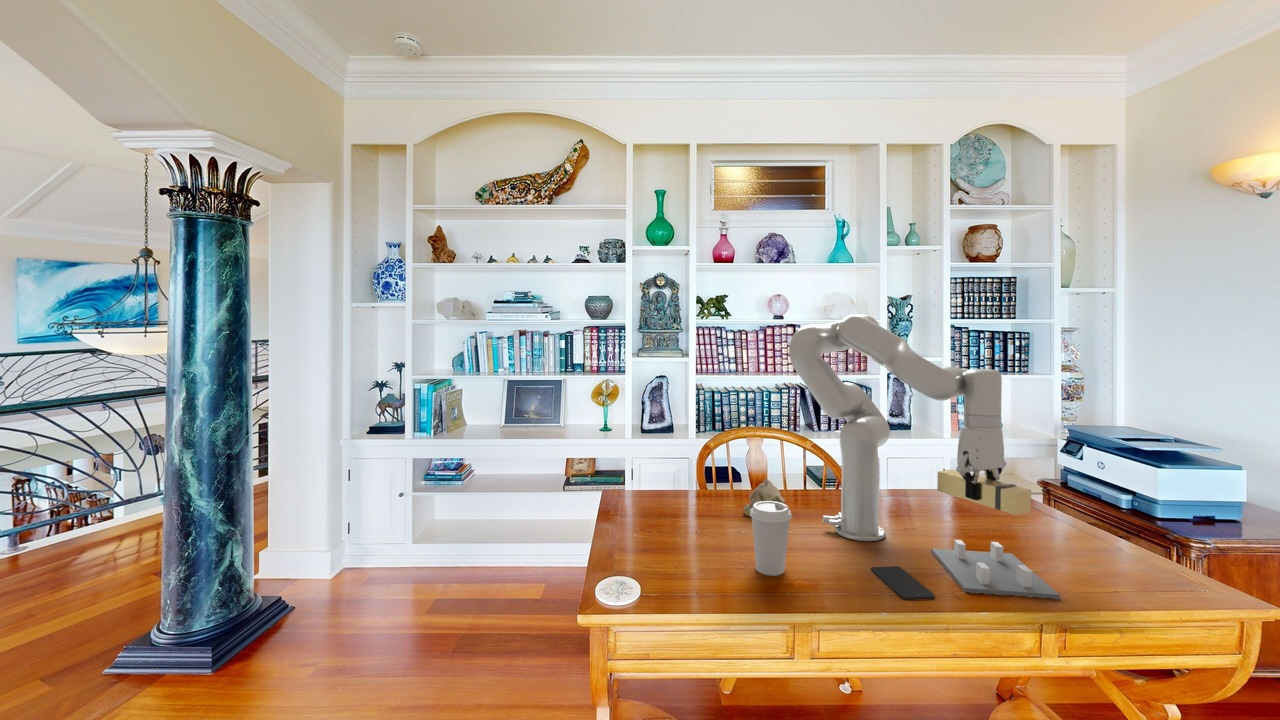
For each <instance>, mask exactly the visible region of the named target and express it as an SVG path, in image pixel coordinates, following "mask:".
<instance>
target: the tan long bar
mask: <svg viewBox="0 0 1280 720" xmlns="http://www.w3.org/2000/svg"><path fill="white" fill-rule="evenodd" d="M970 474H971V475H972V476H973V473H970ZM977 483H978V484H979V500H973V499H970V498H967V497H966V496H965V484H966V481H964V480H963V477H962V476H961V474H960V473H959V472H958V471H957V470H956V469H954V468H952V469H946V470H940V471H939V470H938V471H937V492H939V493H943V494H946V495H949V496H953V497H956V498H959V499H963V500H966V501H969V502H972V503H976V504H979V505H983V506H985V507H989V508H990V509H991V508H992V509H994V510H998V511H1002V512H1003V513H1004V512H1005V513H1008V514H1011V515H1014V516H1017V515H1021V514H1028V513H1031V512H1032V509H1031V508H1032V489H1030V488H1025V487H1023V486H1018V485H1016V484H1013V483H1007V482H1002V481H999V480H998V481H997V480H996V481H995V480H991V479H988V478H986V477H983V476H981V475H980V476H978V481H977Z"/></svg>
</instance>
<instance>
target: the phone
mask: <svg viewBox="0 0 1280 720" xmlns="http://www.w3.org/2000/svg"><path fill="white" fill-rule="evenodd" d="M870 572H872V573H873V574H874V575H875V576H876V577H877V578H878V579H879V580H880V581H881V582H883V583H884V585H886V586H887V587H888V588H889V589H890V590H891V591H892V592H893V591H894V592H893V593H895V595H896V596H897V597H899V599H901V600H903V601H917V600H918V599H926V600H934V599H935V597H936V596H935V595H936V594H934V592H932V591H931V590H930V589H928V588H927V587H926V586H924V585H923V584H922V583H921V582H920V581H918V579H916V578H915V577H913V576H912V575H911V574H910V573H909V572H907V571H906V570H905V569H903V568H902V567H900V566H894V565H892V566H889V565H888V566H872V567H871V568H870Z"/></svg>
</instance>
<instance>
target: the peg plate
mask: <svg viewBox="0 0 1280 720" xmlns="http://www.w3.org/2000/svg"><path fill="white" fill-rule="evenodd" d="M966 547H967V544H966V543H964V541H963V540H961V539H953V549H947V548H946V549H945V548H931V554H932V555H933V556H934V557H935V559H936V560H937V561H938V562H939V563H940V564H941V565H942V567H943V568H944V570H945V571H947V573H948V574H949V575H950V577H951V578H952V579H953V580H954V581H955V582H957V583H956V584H957V585H958V586H959V587H960V588H962V589H963V590H962V589H961V590H962V591H963V592H964V593H965V592H970V593H969V594H979V593H984V594H983V595H992V594H994V595H993V596H1006V595H1015V596H1014V597H1019V596H1027V597H1026V598H1033V597H1040V598H1039V599H1046V598H1052V599H1051V600H1059V599H1060V600H1061V594H1060V593H1059V592H1057V590H1055V589H1054V588H1052V586H1050V585H1049V584H1048V583H1047V582H1045V581H1044V579H1042V578H1041V577H1040V576H1038V574H1036V573H1035V572H1034V571H1033V570H1032V569H1031V568H1029V567H1028V566H1027V565H1026V564H1025V563H1023V562H1022V561H1021V560H1020V559H1019V558H1017V556H1016V555H1014V554H1013V553H1011V552H1004V546H1003V545H1002V544H1000V543H999V541H990V550H989V551H979V550H978V551H976V550H966ZM1029 596H1030V597H1029Z"/></svg>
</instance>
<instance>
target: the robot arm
mask: <svg viewBox="0 0 1280 720" xmlns="http://www.w3.org/2000/svg"><path fill="white" fill-rule="evenodd" d="M850 349H853V350H855V351H857V352H859V353H860V354H862V355H864V356H866V358H868V359H870V360H872V361H874V362H875V363H876V364H879V366H882V367H884V368H885V369H886V370H887V371H888V372H889V373H890V374H892V375H894V376H895V377H896V378H897V379H898V380H900V381H901V382H902V383H904V384H905V385H907V386H909V387H910V388H912V389H913V390H915V391H917V392H919V393H921V394H922V395H924V396H925V397H927V398H930V399H932V400H936V401H947V400H950V399H952V398H953V399H954V398H956V397H963V426H961V428H960V432H959V438H958V444H957V459H956V462H957V463H956V464H957V466H956V468H955V470H957V471H958V472H959V473H960V474H961V476H962V477H963V480H964V481H966V484H965V496H966V497H967V498H970V499H973V500H979V484H978V483H977V481H978V476H979V475H980V472H981V471H983V472H984V475H985V478H988V479H991V480H995V481H999V480H1000V475H1001V474H1002V472H1003V469H1005V467H1006V466H1007V462H1006V460H1005V448H1004V447H1005V446H1004V435H1003V428H1002V389H1003V388H1002V387H1003V386H1002V384H1003V382H1002V381H1003V380H1002V379H1003V378H1002V374H1001V372H1000V371H999V370H997V369H991V368H971V369H968V368H960V367H954V366H953V367H952V366H945V367H940V366H938V365H936V364H935V363H933V362H931V361H929V360H927V359H926V358H924V357H922V356H921V355H919V354H918V353H917V352H915V351H914V350H913V349H912V348H911V346H909V343H908V341H906V340H905V339H904V338H903V337H901V336H899V335H897V334H896V333H893V332H891V331H889V330H888V329H886V328H884V327H883V326H880V325H879V322H878V321H877V320H876V319H875V318H874V317H872V316H870V315H868V314H849V315H847V316H845V317H844V318H843V319H841V320H840V321H835V322H831V323H826V324H807V325H805V326H802V327H800V328H799V329H797V330H796V331H795V333H793V335H792V337H791V338H790V342H789V347H788V356H789V361H790V363H791V365H792V366H793V369H794V370H795V372H796V374H797V375H798V377H800V379H801V381H803V383H804V384H805V386H806V387H807V388H808V391H809V392H810V393H811V395H812V396H813V398H814V399H815V400H816V402H817V403H818V405H819V406H820V407H821V410H822V411H823V412H824V413H825V414H826V415H827V416H828V417H829V418H831V419H835V420H839V419H840V420H841V419H844V420H845V421H846V423H845V424H844V425H843V426H842V427H841V430H840V432H839V433H840V434H839V448H840V457H841V492H840V493H841V498H840V499H841V501H840V502H841V503H840V507H841V508H840V511H839V512H838V514H836V515H833V516H830V515H823V516H822V522H823V523H826V524H828V525H829V526H834V531H835V533H836V534H838V535H839V536H841V537H843V538H845V539H850V540H854V541H860V542H876V541H880V540H882V539H884V537H885V529H883V528H882V527H880V526H879V523H880V522H879V518H880V517H879V514H880V480H881V479H880V478H881V477H880V458H879V453H878V452H879V451H878V448H880V447H881V446H883V445H884V444H886V443H887V441H889V438H890V434H891V430H890V426H889V423H888V421H887V420H886V418H885V416H884V415H883V414H882V412H881V411H880V410H879V409H878V407H877V406H876V405H875V403H874V402H873V400H872V399H871V398H870V396H869V395H868V394H867V392H866V391H865V390H864V389H863V388H862V387H861V386H859V385H857V384H856V383H852V382H843V381H842V380H841V379H840V377H839V376H838V375H837V374H836V372H835V370H834V369H833V368H832V366H830V364H829V363H828V362H827V361H826V360H825V359H823V357H822V355H823V354H824V355H826V354H831V353H836V352H839V351H840V352H841V351H846V350H850ZM971 472H973V473H971ZM971 474H972V475H973V476H972V475H971Z"/></svg>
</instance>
